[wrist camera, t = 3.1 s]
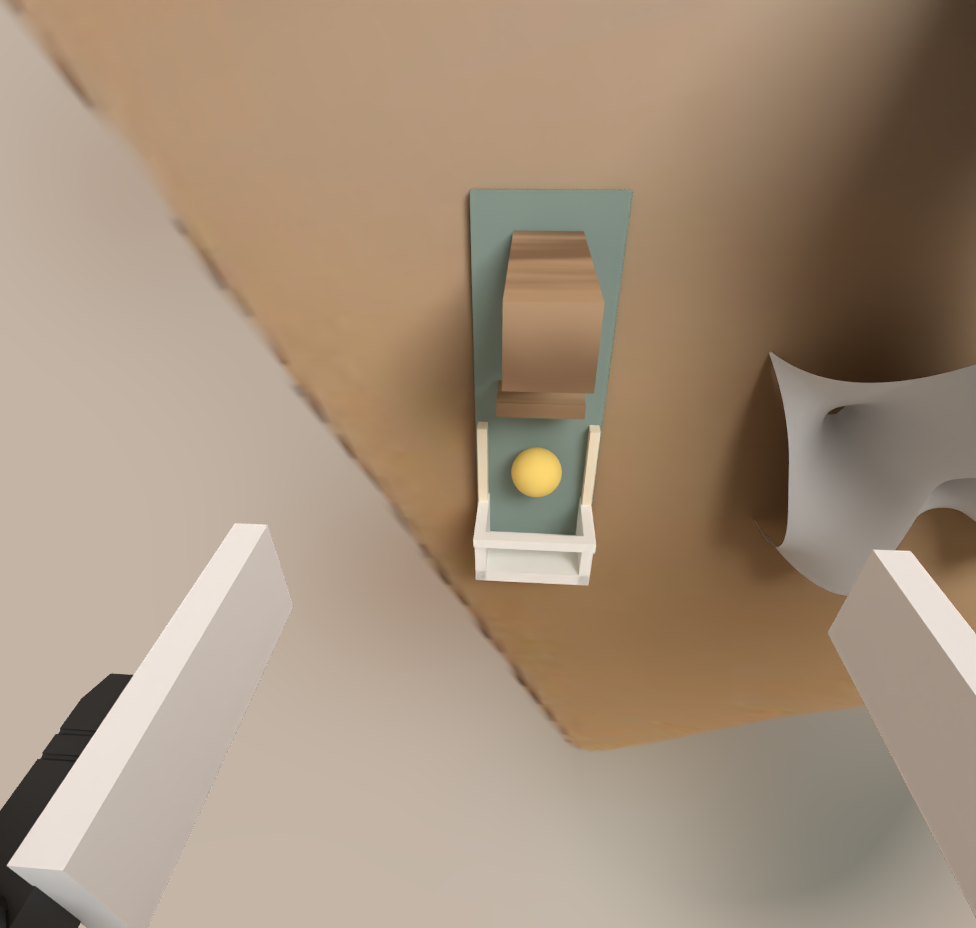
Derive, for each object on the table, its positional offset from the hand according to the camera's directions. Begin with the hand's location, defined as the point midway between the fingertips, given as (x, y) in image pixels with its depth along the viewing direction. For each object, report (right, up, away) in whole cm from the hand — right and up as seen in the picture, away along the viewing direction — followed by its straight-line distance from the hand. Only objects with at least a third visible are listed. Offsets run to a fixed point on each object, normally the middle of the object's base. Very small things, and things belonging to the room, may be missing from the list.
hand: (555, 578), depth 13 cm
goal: (+2, -2, +32) cm, 32 cm away
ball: (+2, +2, +27) cm, 27 cm away
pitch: (+2, +7, +26) cm, 27 cm away
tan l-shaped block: (+2, +12, +22) cm, 25 cm away
